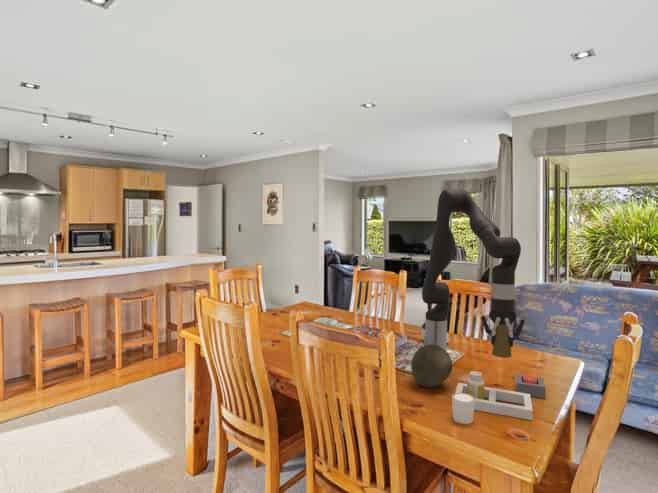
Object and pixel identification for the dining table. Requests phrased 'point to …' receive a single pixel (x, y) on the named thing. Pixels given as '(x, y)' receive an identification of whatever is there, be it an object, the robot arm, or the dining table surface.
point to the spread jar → (424, 333)
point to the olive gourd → (502, 342)
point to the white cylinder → (463, 407)
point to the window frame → (502, 408)
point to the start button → (530, 379)
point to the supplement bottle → (475, 385)
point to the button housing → (530, 386)
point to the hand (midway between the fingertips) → (502, 346)
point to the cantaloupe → (431, 365)
